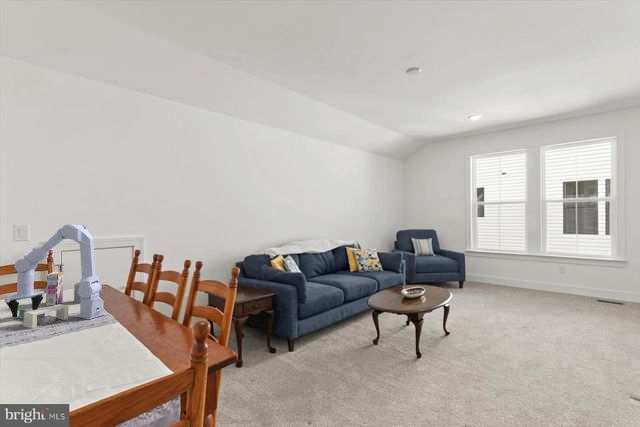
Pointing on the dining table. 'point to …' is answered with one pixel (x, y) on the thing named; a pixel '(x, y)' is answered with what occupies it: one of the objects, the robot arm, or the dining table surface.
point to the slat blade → (21, 311)
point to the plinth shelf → (31, 316)
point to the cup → (76, 294)
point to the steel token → (46, 319)
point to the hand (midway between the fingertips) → (24, 314)
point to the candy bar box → (54, 288)
